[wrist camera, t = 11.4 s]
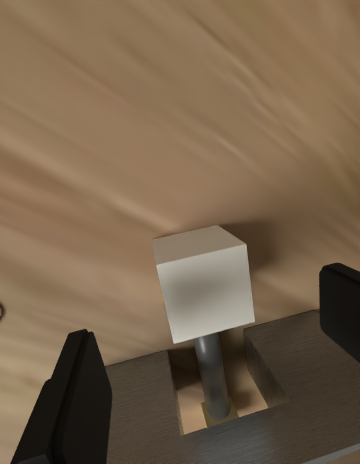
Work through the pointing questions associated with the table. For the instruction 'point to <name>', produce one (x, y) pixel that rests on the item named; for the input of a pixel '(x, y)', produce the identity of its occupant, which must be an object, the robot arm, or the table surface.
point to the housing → (252, 425)
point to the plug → (206, 302)
